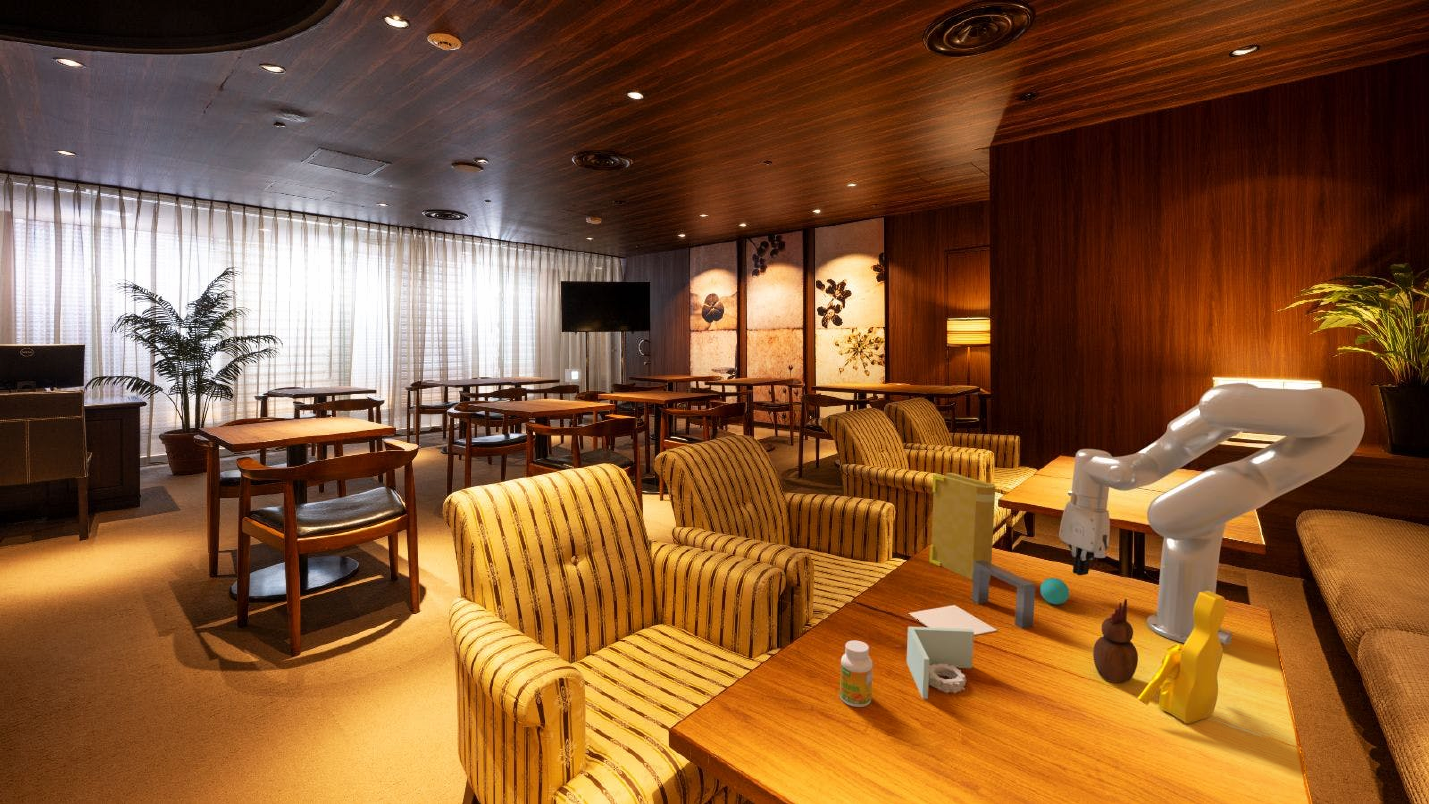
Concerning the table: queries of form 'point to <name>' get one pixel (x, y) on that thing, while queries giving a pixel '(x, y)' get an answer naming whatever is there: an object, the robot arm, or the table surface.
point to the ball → (1054, 591)
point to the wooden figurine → (1116, 648)
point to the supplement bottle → (856, 674)
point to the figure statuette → (1192, 666)
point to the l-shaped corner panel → (939, 657)
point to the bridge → (1023, 586)
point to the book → (961, 523)
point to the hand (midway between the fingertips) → (1080, 573)
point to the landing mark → (951, 619)
